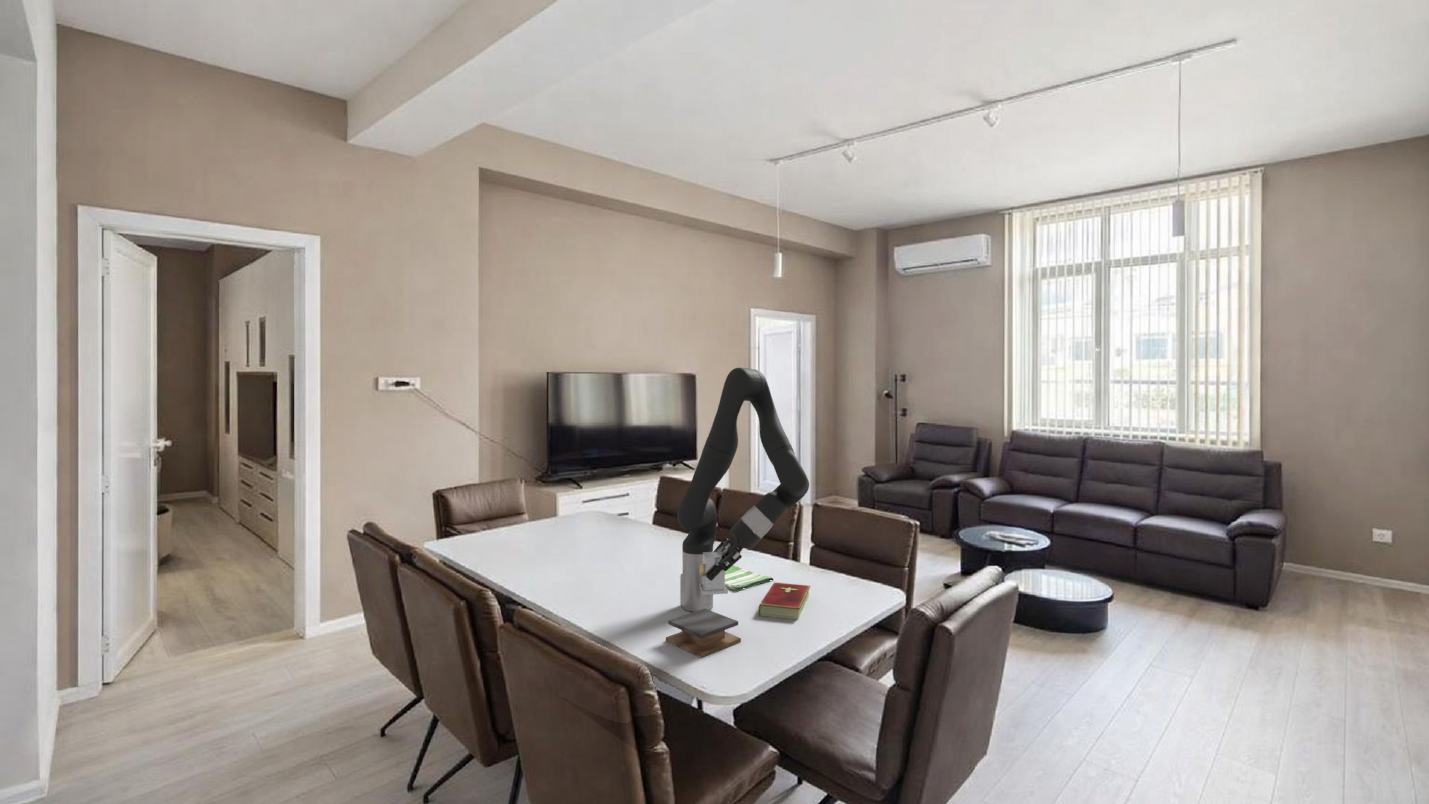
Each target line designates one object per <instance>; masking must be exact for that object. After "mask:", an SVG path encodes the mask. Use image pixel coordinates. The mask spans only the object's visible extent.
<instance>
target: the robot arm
mask: <svg viewBox="0 0 1429 804" xmlns="http://www.w3.org/2000/svg"><path fill="white" fill-rule="evenodd" d="M744 402H750V404H751V406H752V407H753V408H754V409H755V412H756V415H757V417H758V422H759V423H758V424H759V425H758V426H759V428H758V429H759V437H760V439H759V440H760V442H761V445H762V448H763V449H764V451H765V454H766V456H767V457H768V459H769V462H770V463H771V465H772V466H773V468H774V471H775V474H776V476H777V478H778V482H779V483H780V484H779V485H777V487H776V488H775V489H773V491H771V492H767V493H766V494H764V495H763V496H762V497H761V498H760V499H759V500H758V501H757V502H756V503H755V504H754V505H753V506H752V507H751V508H750V509H749V510H747V511H746V512H745V514H744V515H743V516H741V518H739V520H738V521H737V522H736V523H735V524H733V525H732V527H731V528H730V529H729V531H730V533H731V535H733V536H731V537H730V538H727V536H726V537H724V538H723V539H722V541H721V542H720V543H719V544H718V546H717V547H716V548H714V545H715V541H716V539H717V537H716V536H717V523H718V522H717V520H718V519H717V517H718V515H717V508H716V505H715V502H714V501H713V499H712V498H710V497H711V494H712V493H713V491H714V489H715V488H716V487H717V485H718V484H719V483H720V481H721V480H722V479H723V477H724V476H725V475H726V474H727V472H728V470H729V469H730V467H731V464H732V463H733V461H734V457H735V455H736V453H737V450H738V447H739V446H738V445H739V434H738V426H737V422H738V417H739V414H740V412H741V408H742V406H743V404H744ZM798 459H799V458H798V457H797V456H796V453H795V451H794V448H793V446H792V444H791V442H790V440H789V437H788V436H787V434H786V432H785V430H784V428H783V426H782V423H781V420H780V418H779V415H778V413H777V409H776V406H775V402H774V400H773V397H772V393H771V388H770V386H769V384H768V381H767V378H766V376H765V375H764V373H762V372H761V371H760V370H758V369H755V368H746V367H735V368H733V369H732V370H730V372H729V373H728V374H727V375H726V378H725V381H724V383H723V387H722V391H721V395H720V399H719V403H718V406H717V411H716V413H715V416H714V417H713V422H712V425H711V428H710V431H709V433H708V435H707V438H706V440H705V443H704V446H703V448H702V450H701V455H700V458H699V460H698V463H697V465H696V467H695V471H694V473H693V475H692V478H691V481H690V483H689V486H688V487H687V489H686V492H685V493H684V495H683V497H682V500H681V501H680V503H679V506H678V508H677V509H678V510H677V515H676V516H677V522H678V524H679V526H680V527H681V528H682V529H683V530H686V531H688V534H687V535H686V537H685V538H684V539H683V542H682V545H681V546H682V573H680V578H679V579H680V581H679V583H680V588H679V589H680V597H679V599H680V603H679V604H680V606H682V609H683V610H685V611H688V612H691V613H692V612H695V611H698V610H701V609H704V608H705V609H708V610H710V611H711V610H712V609H713V608H714V594H710V595H703V593H702V591H701V589H700V584H703V576H700V564H703V552H722V553H721V554H720V557H721V558H720V559H719V560H718V561H717V562H716V564H715V565H714V566H713V567H712V568H711V569H710V570H709V571H708V572H707V573H706V577H707V578H708V579H709V580H710V581H712V580H713V579H714V578H715V577H716V576H717V575H718V574H719V573H720V572H721V571H723V570H724V571H727V570H728V569H729V568H730V567H731V566H732V565H734V566H735V564H736V563H738V561H739V560H740V559H742V556H743V555H742V554H741V553H742V551H743V549H744V548H746V549H747V550H748V551H750V550H752V549H753V548H754V547H755V546H756V545H757V544H758V543H759V542H760V541H762V539H763V538H764V536H766V535H767V534H768V532H769V531H770V530H771V528H772V527H774V524H776V523H777V522H778V521H779V520H780V518H781V517H782V516H783V515H784V514H785V513H786V512H787V511H788V510H790V509H791V508H792V507H794V506H795V505H796V504H797V503H798V502H799V501H801V500H802V499H803V498H804V497H805V496H806V494H807V493H808V491H809V488H810V481H809V478H808V476H807V474H806V472H805V470H804V468H803V466H802V465H801V463H800V461H799V460H798ZM724 563H725V564H724ZM728 564H729V565H728Z"/></svg>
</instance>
